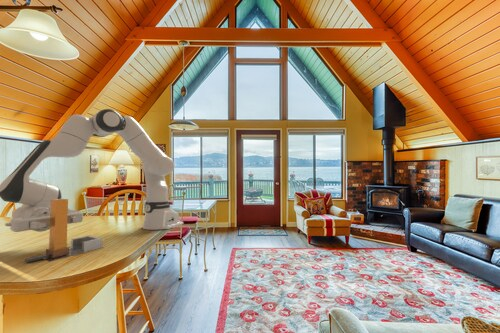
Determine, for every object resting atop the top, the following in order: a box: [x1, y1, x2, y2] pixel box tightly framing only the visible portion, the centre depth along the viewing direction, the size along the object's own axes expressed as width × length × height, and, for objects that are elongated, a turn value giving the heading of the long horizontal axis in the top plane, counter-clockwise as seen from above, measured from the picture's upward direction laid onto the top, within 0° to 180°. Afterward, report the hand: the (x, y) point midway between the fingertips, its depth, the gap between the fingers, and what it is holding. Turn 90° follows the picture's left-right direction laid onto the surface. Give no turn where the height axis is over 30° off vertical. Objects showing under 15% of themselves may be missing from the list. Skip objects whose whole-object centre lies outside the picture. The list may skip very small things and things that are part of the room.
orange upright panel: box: [24, 198, 70, 263], centre depth 80 cm, size 11×5×19 cm, turn 152°
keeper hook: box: [70, 235, 103, 253], centre depth 91 cm, size 6×9×4 cm
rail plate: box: [42, 246, 104, 262], centre depth 86 cm, size 17×9×1 cm, turn 151°
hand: (59, 222), depth 83 cm, fingers open, 8 cm apart
